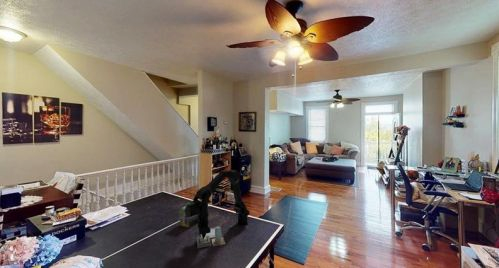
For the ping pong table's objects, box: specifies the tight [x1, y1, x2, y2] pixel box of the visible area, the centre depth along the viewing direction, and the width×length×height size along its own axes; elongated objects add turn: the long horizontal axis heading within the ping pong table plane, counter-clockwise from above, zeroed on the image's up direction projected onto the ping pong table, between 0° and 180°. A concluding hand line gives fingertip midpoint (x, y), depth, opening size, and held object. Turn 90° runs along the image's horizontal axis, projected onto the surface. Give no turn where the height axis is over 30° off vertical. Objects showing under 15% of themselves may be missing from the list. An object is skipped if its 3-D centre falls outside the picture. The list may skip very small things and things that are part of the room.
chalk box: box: [178, 201, 196, 229], centre depth 140 cm, size 9×9×15 cm
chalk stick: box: [214, 226, 222, 243], centre depth 119 cm, size 4×4×8 cm
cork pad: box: [210, 236, 226, 247], centre depth 119 cm, size 7×7×1 cm
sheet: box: [200, 227, 223, 239], centre depth 128 cm, size 12×10×1 cm
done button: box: [199, 236, 207, 243], centre depth 117 cm, size 4×4×3 cm
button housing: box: [196, 235, 211, 249], centre depth 117 cm, size 7×7×2 cm
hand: (203, 237), depth 117 cm, fingers closed, pressing on done button
